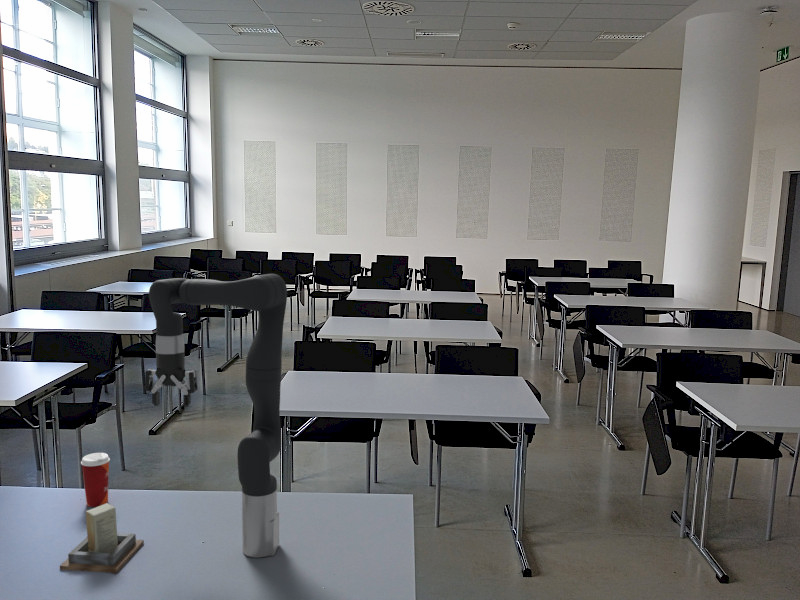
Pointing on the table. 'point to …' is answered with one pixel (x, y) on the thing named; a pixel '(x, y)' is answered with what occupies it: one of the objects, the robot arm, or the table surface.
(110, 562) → the socket stand
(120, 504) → the table surface
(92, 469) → the coffee cup
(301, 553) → the table surface
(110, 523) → the skincare box
